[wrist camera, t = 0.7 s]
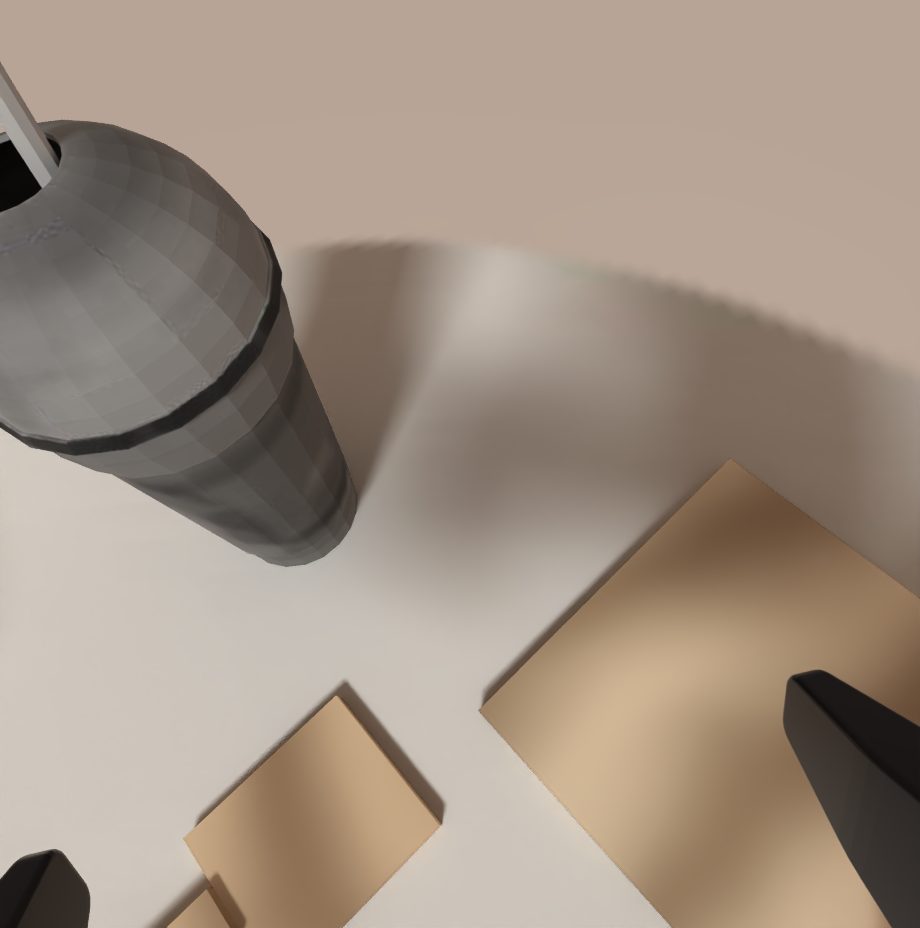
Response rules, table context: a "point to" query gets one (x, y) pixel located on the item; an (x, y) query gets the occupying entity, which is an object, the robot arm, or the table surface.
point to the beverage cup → (158, 337)
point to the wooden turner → (308, 832)
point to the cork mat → (715, 708)
